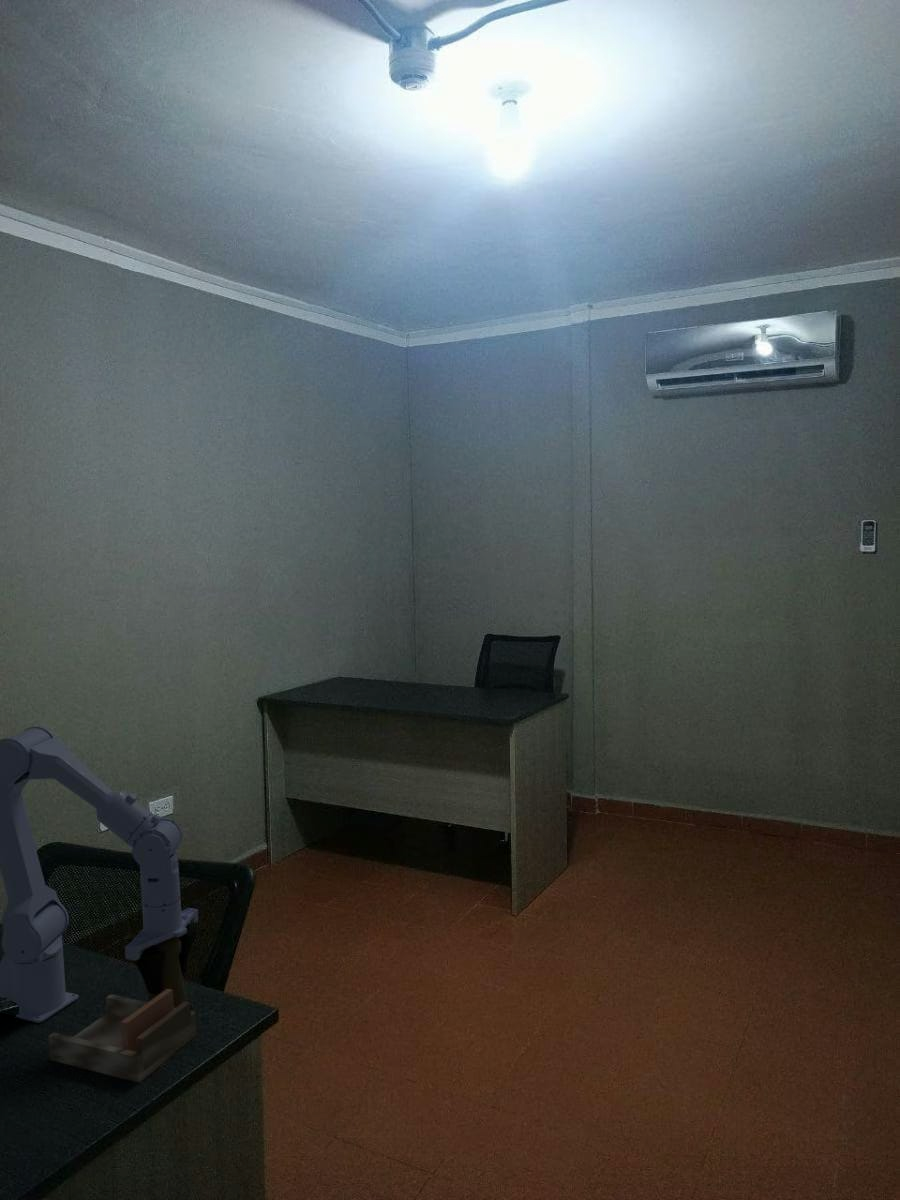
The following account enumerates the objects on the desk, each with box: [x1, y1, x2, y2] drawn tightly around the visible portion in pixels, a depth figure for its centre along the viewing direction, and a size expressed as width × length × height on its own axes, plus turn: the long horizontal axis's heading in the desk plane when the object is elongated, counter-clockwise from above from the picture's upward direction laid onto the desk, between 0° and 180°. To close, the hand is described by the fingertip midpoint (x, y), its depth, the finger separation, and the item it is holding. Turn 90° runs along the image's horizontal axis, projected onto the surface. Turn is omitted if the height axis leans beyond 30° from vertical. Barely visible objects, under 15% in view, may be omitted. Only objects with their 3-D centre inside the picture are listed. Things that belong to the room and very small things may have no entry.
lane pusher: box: [121, 989, 174, 1052], centre depth 125 cm, size 1×9×6 cm, turn 158°
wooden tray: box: [48, 993, 198, 1083], centre depth 126 cm, size 16×12×6 cm
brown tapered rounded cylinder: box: [147, 937, 188, 1008], centre depth 138 cm, size 6×6×11 cm
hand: (166, 983), depth 138 cm, fingers closed on brown tapered rounded cylinder, 5 cm apart
